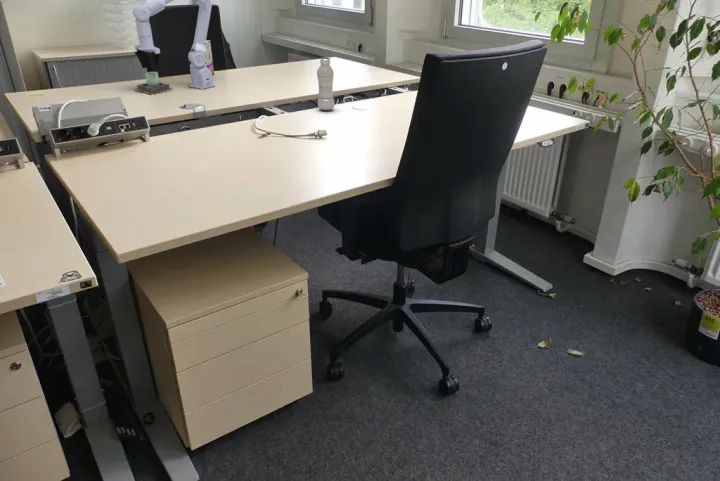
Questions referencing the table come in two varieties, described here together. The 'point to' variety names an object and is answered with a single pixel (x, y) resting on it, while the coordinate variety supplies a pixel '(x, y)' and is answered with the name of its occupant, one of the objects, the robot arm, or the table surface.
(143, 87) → the holder
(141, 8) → the robot arm
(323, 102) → the plastic bottle
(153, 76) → the roll
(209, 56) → the candy bar box
